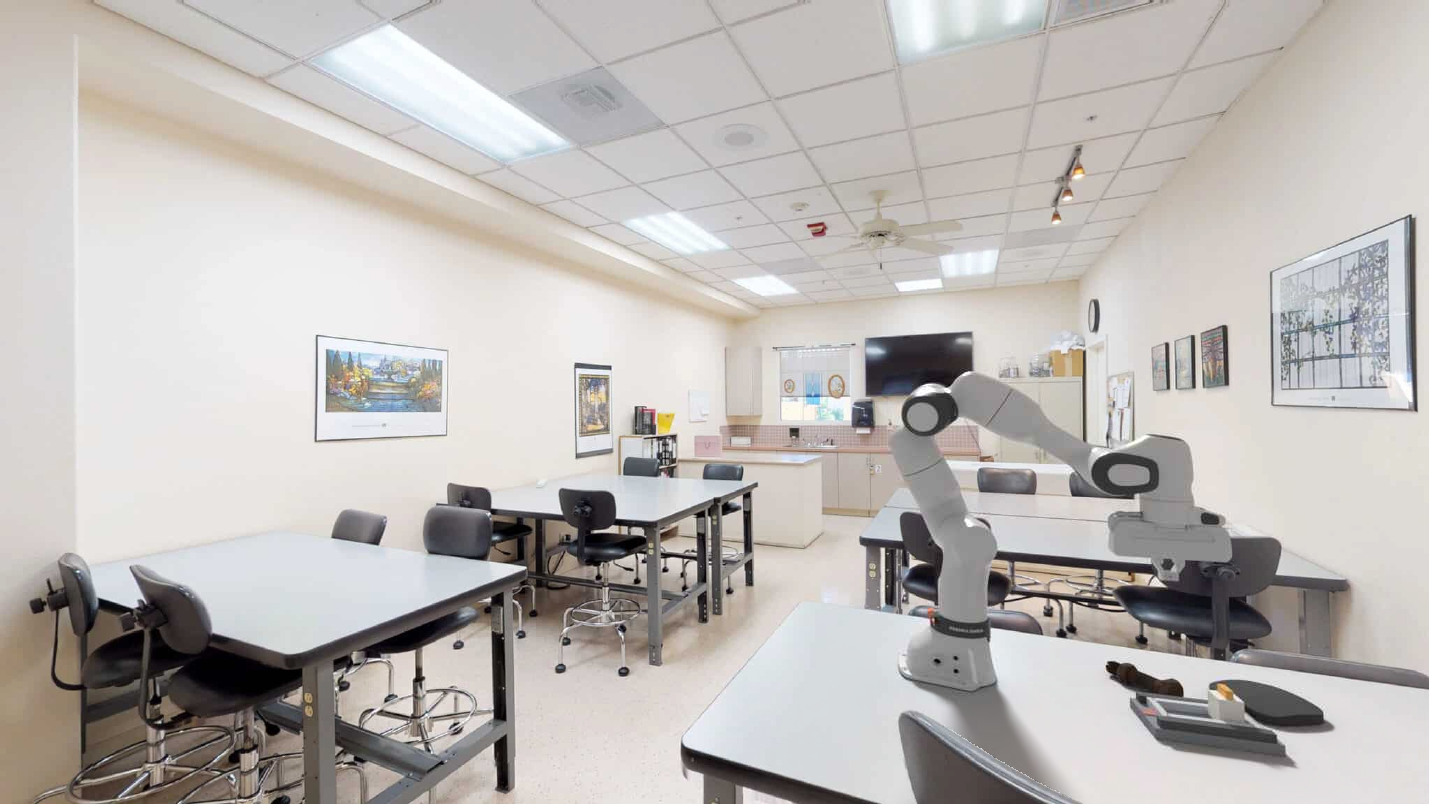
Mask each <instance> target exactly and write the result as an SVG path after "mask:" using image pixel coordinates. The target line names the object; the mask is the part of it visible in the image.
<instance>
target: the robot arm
mask: <svg viewBox="0 0 1429 804" xmlns="http://www.w3.org/2000/svg"><path fill="white" fill-rule="evenodd" d="M901 407H902V408H901V414H900V415H901V421H902V425H900V426H898V427H896V428H895V429H894V430H893V431H892V433H890V436H889V438H888V446H889V449H890V452H891V454H892V458H893V460H894V462H895V464H896V467H897V468H898V471H899V473H900V474H901V476H902V479H903V481H904V483H905V484H906V486H907V487H908V489H909V491H910V493H911V495H912V497H913V498H914V500H915V503H916V504H917V507H918V509H919V511H920V514H921V516H922V518H923V520H924V523H925V525H926V528H927V529H928V531H929V533H930V536H931V538H932V540H933V541H934V543H935V544H936V545H937V546H938V547H939V548H941V550H942V555H943V556H942V563H941V564H942V566H941V571H940V575H939V577H938V579H937V595H938V596H937V597H938V598H937V599H938V602H937V603H938V604H937V605H938V610H935V608H932V607H931V608H929V607H928V609H927V610H926V612H927V616H928V618H929V623H930V625H929V626H927V627H925V628H924V629H922V630H920V631H919V632H917V633H915V634H913V635H912V636H911V638H910V640H909V642H908V645H907V650H905V651H904V652H903V651H902V653H900V655H899V656H898V661H897V667H898V671H899V672H900V674H901V675H903V676H904V678H907V679H909V680H914V681H919V682H925V683H930V684H934V685H939V686H943V687H948V688H953V689H958V690H964V691H968V692H973V691H976V690H977V689H980V688H981V687H987V686H990V685H992V684H995V683H996V682H997V680H998V678H997V677H998V676H997V674H996V670H995V668H994V664H993V659H992V653H991V647H990V642H991V638H992V637H991V636H992V635H991V634H992V632H991V630H992V629H991V627H992V626H991V621H990V617H989V615H988V614H989V613H988V584H989V583H988V582H989V576H990V572H991V571H990V570H991V567H992V562H993V560H994V559H995V557H996V556H997V552H998V542H997V539H996V536H995V535H994V533H993V532H992V530H991V528H990V527H989V526H988V525H986V524H985V523H984V522H982V521H980V520H979V519H977V518H975V517H974V516H973V515H972V514H971V512H970V511H969V508H968V507H967V505H966V503H965V500H964V498H963V495H962V492H961V486H960V484H959V482H958V480H957V478H956V476H955V474H954V473H953V471H952V469H951V467H950V465H949V464H948V461H947V460H946V459H945V456H944V454H943V453H942V451H941V449H940V448H939V445H938V443H937V441H936V436H935V435H938V434H939V433H941V432H942V431H944V430H946V429H947V427H949V426H950V425H952V424H953V423H954V422H956V421H957V420H958V418H965V419H967V420H970V421H972V422H974V423H976V424H977V425H979V426H980V427H982V428H984V429H986V430H987V431H989V432H991V433H993V434H995V435H997V436H1000V437H1003V438H1005V439H1007V440H1010V441H1014V442H1016V443H1023V444H1029V445H1031V446H1034V447H1037V448H1039V449H1041V450H1042V451H1045V452H1046V453H1048V454H1050V455H1051V456H1053V457H1054V458H1056V459H1058V460H1060V461H1061V462H1063V463H1065V464H1067V465H1068V466H1069V467H1071V468H1072V469H1073V471H1074V472H1075V473H1076V475H1077V476H1078V477H1079V478H1080V480H1081V481H1082V482H1083V483H1084V484H1085V485H1087V486H1088V487H1089V488H1092V489H1094V490H1098V491H1100V492H1102V493H1105V494H1107V495H1110V496H1115V497H1116V496H1117V497H1123V496H1131V495H1139V496H1138V499H1139V511H1123V510H1117V511H1115V512H1114V513H1110V515H1109V516H1108V517H1107V526H1108V529H1109V531H1108V532H1109V533H1108V540H1107V542H1108V543H1107V548H1108V549H1109V551H1110V552H1111V553H1112V554H1113V555H1115V556H1117V557H1129V558H1130V557H1131V558H1143V559H1144V558H1147V559H1150V561H1151V563H1152V565H1153V566H1154V567H1155V569H1156V570H1157V578H1158V579H1159V580H1161V581H1169V582H1179V580H1180V577H1179V576H1180V575H1179V574H1180V573H1181V572H1182V570H1183V569H1184V568H1185V567H1186V561H1197V562H1198V561H1199V562H1210V563H1211V562H1212V563H1213V562H1216V563H1228V562H1229V561H1230V560H1231V559H1232V558H1233V548H1232V541H1231V535H1230V533H1229V531H1228V530H1227V528H1225V527H1224V526H1225V525H1226V523H1227V522H1226V521H1227V519H1226V516H1224V515H1222V514H1220V513H1217V512H1214V511H1211V510H1207V509H1205V508H1203V507H1199V506H1196V505H1195V497H1194V495H1193V492H1192V485H1193V482H1194V478H1195V477H1194V463H1193V457H1192V452H1191V447H1190V445H1189V444H1188V442H1186V441H1185V440H1183V439H1181V438H1180V437H1175V436H1170V435H1169V436H1168V435H1162V434H1154V433H1146V434H1143V435H1141V437H1139V438H1137V439H1136V440H1135V439H1134V440H1133V441H1131V442H1128V443H1127V444H1123V445H1121V446H1118V447H1114V448H1113V447H1109V446H1103V445H1096V444H1093V443H1092V444H1091V443H1089V442H1086V441H1084V440H1081V439H1080V438H1078V437H1076V436H1075V435H1073V434H1072V433H1070V432H1067V430H1065V429H1062V428H1061V427H1059V426H1057V425H1056V424H1054V423H1053V422H1052V421H1051V420H1050V419H1049V418H1048V417H1047V416H1046V414H1045V413H1044V411H1043V410H1042V408H1041V405H1039V404H1038V403H1037V402H1036V401H1034V400H1033V399H1032V398H1031V397H1029V396H1028V395H1027V394H1025V393H1023V391H1021V390H1019V389H1017V388H1015V387H1013V386H1012V385H1010V384H1007V383H1005V382H1004V381H1001V380H999V379H996V378H995V377H992V376H989V375H986V374H983V373H980V372H977V371H967V372H964V373H962V374H961V375H959V376H958V377H957V378H955V380H954V381H953V383H952V384H951V385H950V386H947V385H946V384H943V383H941V382H937V381H936V382H935V381H930V382H925V383H923V384H921V385H920V386H918V387H916V388H915V389H914V390H913V391H911V393H910V394H909V395H908V397H907V398H906V400H904V402H903V404H902V406H901ZM1164 560H1171V561H1172V563H1173V566H1172V567H1171V568H1170V570H1165V569H1164V567H1163V566H1162V565H1164Z"/></svg>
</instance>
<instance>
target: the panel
mask: <svg viewBox="0 0 1429 804" xmlns="http://www.w3.org/2000/svg"><path fill="white" fill-rule="evenodd" d="M1129 707H1130V710H1132V712H1133V713H1134V714H1135V715H1136V717H1138V719H1139V720H1140V721H1141V722H1142V724H1143V725H1144V727H1145V728H1146V729H1147V730H1148V731H1149V732H1150V734H1151V735H1152V736H1153V738H1154V739H1156V740H1162V741H1168V742H1169V741H1171V742H1176V743H1177V742H1179V743H1184V744H1193V745H1199V746H1206V747H1211V748H1212V747H1215V748H1220V749H1228V750H1235V751H1243V752H1249V753H1255V754H1256V753H1258V754H1264V755H1265V754H1266V755H1271V756H1279V757H1286V756H1287V755H1286V745H1285V743H1283V742H1281V741H1280V740H1279V738H1278V735H1277V734H1276V733H1275V732H1274V731H1273V730H1271V729H1267V728H1266V727H1265V726H1264V725H1262V724H1261V723H1260V722H1258V721H1256V720H1254V719H1253V718H1252V717H1251V716H1250V715H1249V714H1247V713H1246V712H1245V708H1244V712H1245V723H1239V722H1231V721H1223V720H1215V719H1212V718H1211V717H1210V716H1209V715H1208V699H1203V698H1202V699H1200V698H1192V697H1186V696H1184V697H1177V696H1169V695H1160V694H1155V693H1153V692H1150V693H1149V692H1141V691H1135V698H1133V697H1129Z"/></svg>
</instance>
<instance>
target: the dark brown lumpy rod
mask: <svg viewBox="0 0 1429 804" xmlns="http://www.w3.org/2000/svg"><path fill="white" fill-rule="evenodd" d="M1105 670H1106V672H1107V673H1108V674H1109V675H1113V676H1115V677H1117V679H1118V680H1119V681H1120V682H1121V683H1122V684H1124V685H1126V686H1127V685H1129V686H1132V685H1135V686H1137V687H1140V688H1141V689H1144V690H1147V691H1149V692H1150V693H1152V694H1160V695H1169V696H1177V697H1185V696H1184V691H1185V690H1184V687H1183V685H1182V684H1181V682H1180V681H1179V680H1178V679H1175V678H1173V677H1172V678H1167V679H1159V678H1156V677H1155V676H1152V675H1150V674H1147V673H1146V672H1145V673H1144V672H1142V671H1139V670H1138V669H1137V667H1136V666H1135V665H1134V664H1132V663H1130V662H1123V663H1120V662H1118V661H1116V660H1110V661H1109V660H1107V661H1106V664H1105Z"/></svg>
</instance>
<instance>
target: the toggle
mask: <svg viewBox="0 0 1429 804" xmlns="http://www.w3.org/2000/svg"><path fill="white" fill-rule="evenodd" d="M1207 700H1208V715H1209V716H1210V717H1211V718H1212V719H1215V720H1223V721H1231V722H1239V723H1245V712H1244V702H1243V701H1242V700H1241V699H1239V698H1238V697H1237V696H1236V695H1235V694H1233V691H1232V690H1231V689H1229V688H1228V687H1227V686H1226V685H1224V684H1217V691H1216V690H1209V689H1207Z"/></svg>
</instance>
